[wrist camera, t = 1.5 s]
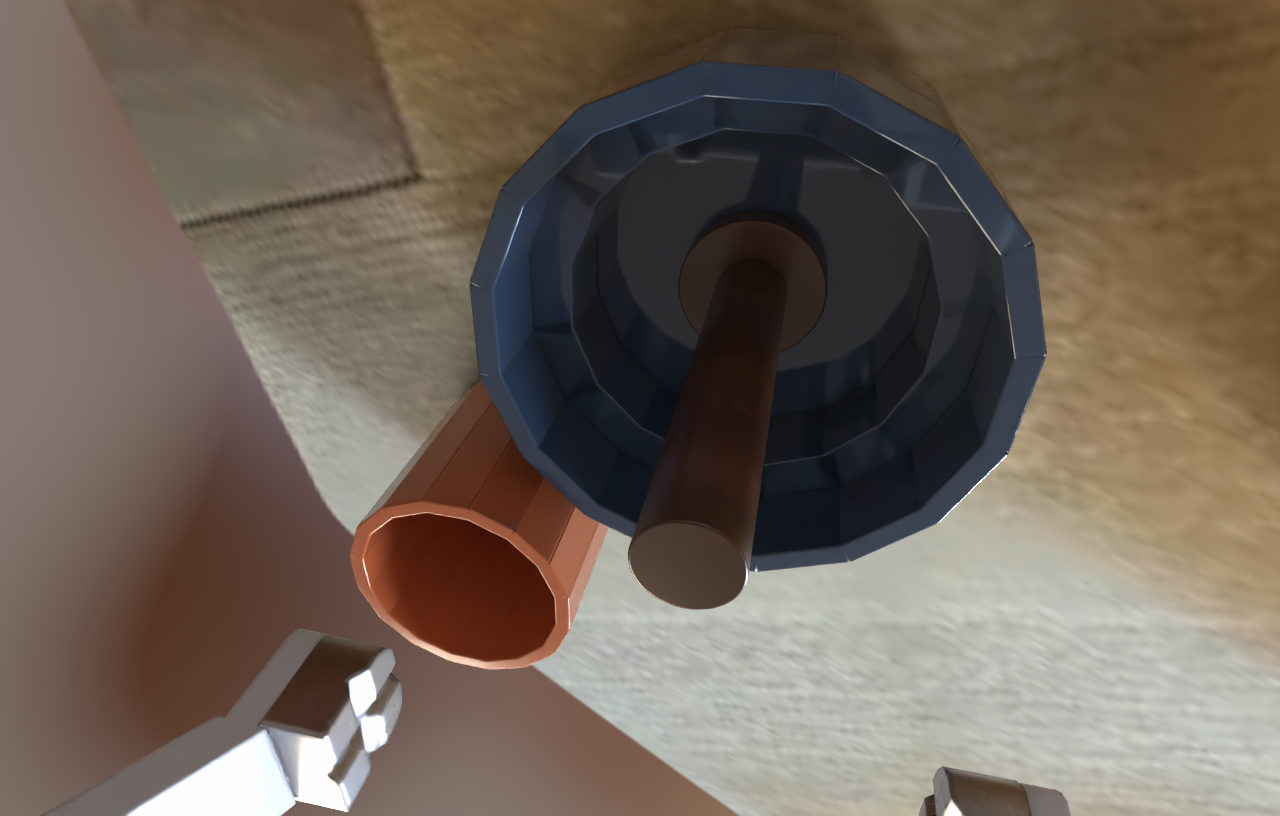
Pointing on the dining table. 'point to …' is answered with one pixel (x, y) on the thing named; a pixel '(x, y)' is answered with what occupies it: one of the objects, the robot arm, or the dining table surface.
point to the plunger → (725, 405)
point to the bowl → (854, 310)
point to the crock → (475, 546)
